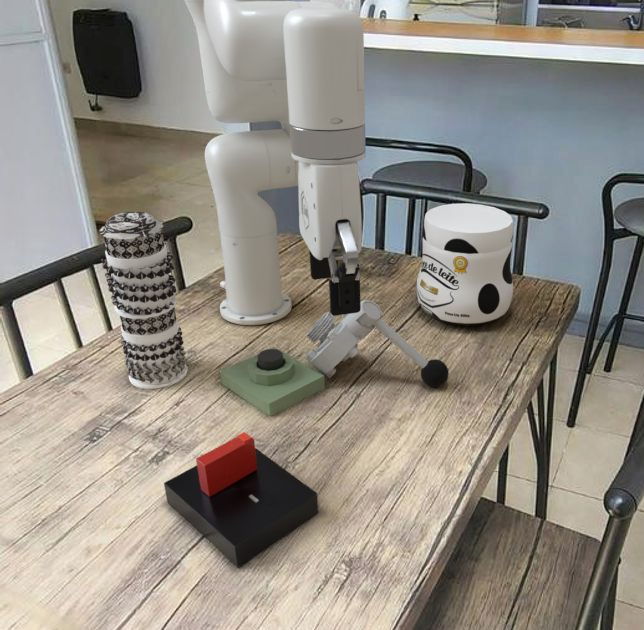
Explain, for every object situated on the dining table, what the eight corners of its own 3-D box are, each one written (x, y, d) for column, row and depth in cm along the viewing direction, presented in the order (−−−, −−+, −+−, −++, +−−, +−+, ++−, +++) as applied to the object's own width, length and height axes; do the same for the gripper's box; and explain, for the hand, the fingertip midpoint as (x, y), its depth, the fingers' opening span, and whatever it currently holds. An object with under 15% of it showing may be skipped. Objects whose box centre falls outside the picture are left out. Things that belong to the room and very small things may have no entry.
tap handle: (209, 497, 76) (204, 464, 74) (200, 489, 77) (195, 456, 75) (257, 469, 80) (254, 437, 78) (248, 462, 81) (244, 430, 79)
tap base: (165, 501, 80) (161, 480, 78) (244, 457, 87) (242, 437, 85) (237, 568, 71) (234, 546, 70) (318, 512, 78) (317, 491, 77)
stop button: (253, 365, 100) (252, 355, 99) (273, 356, 102) (272, 346, 101) (268, 374, 98) (267, 364, 97) (288, 365, 100) (287, 354, 99)
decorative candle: (177, 392, 99) (149, 230, 88) (115, 388, 100) (79, 227, 88) (199, 359, 107) (176, 208, 96) (141, 356, 108) (112, 205, 96)
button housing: (221, 383, 102) (217, 360, 100) (275, 358, 108) (273, 336, 106) (270, 416, 95) (268, 392, 93) (325, 387, 101) (324, 365, 99)
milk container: (402, 324, 119) (404, 227, 111) (432, 284, 134) (435, 196, 126) (499, 341, 115) (508, 241, 106) (518, 299, 129) (528, 208, 121)
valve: (382, 443, 105) (445, 396, 97) (284, 360, 101) (341, 303, 93) (401, 402, 113) (461, 355, 105) (311, 324, 110) (365, 269, 102)
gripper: (276, 126, 75) (287, 269, 83) (309, 165, 60) (318, 334, 68) (343, 122, 77) (347, 262, 85) (389, 160, 63) (389, 323, 71)
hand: (334, 294), depth 77 cm, fingers open, 9 cm apart
